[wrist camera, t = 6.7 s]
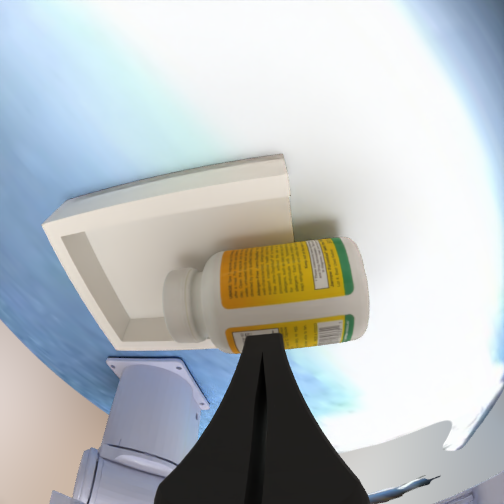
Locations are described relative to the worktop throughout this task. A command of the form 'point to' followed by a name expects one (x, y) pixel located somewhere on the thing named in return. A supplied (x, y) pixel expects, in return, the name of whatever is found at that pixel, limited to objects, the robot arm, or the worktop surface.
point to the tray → (164, 239)
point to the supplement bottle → (271, 296)
